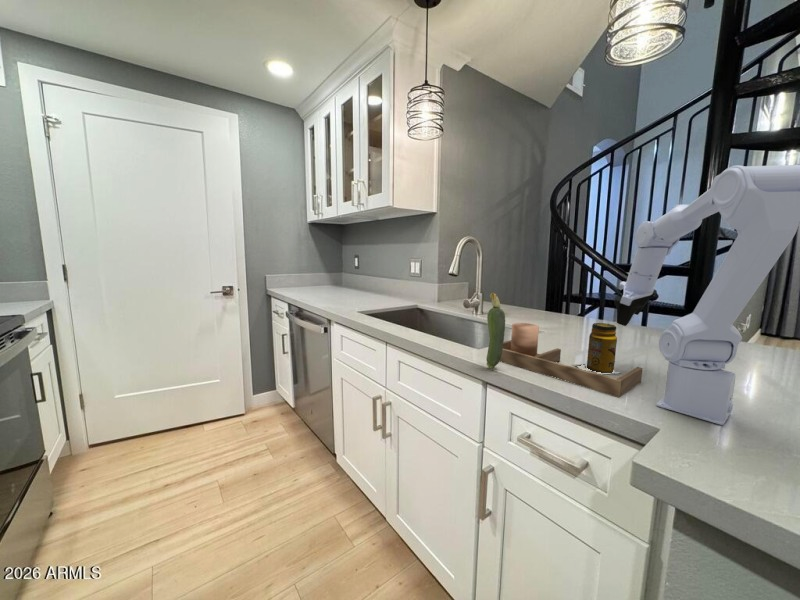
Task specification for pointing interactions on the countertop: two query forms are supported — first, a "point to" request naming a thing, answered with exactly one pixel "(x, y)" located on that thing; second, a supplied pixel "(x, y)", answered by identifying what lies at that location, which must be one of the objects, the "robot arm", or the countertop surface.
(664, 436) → the countertop surface
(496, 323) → the vegetable
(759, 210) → the robot arm
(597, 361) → the condiment
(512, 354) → the caddy
